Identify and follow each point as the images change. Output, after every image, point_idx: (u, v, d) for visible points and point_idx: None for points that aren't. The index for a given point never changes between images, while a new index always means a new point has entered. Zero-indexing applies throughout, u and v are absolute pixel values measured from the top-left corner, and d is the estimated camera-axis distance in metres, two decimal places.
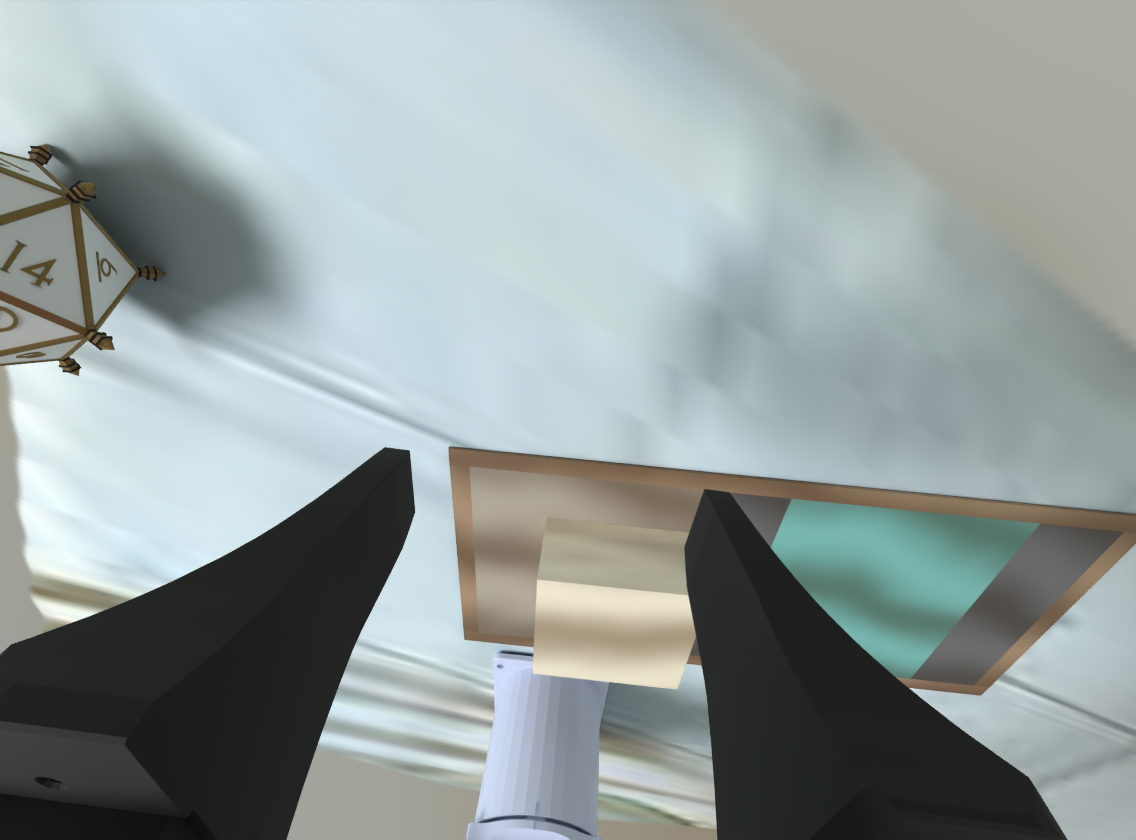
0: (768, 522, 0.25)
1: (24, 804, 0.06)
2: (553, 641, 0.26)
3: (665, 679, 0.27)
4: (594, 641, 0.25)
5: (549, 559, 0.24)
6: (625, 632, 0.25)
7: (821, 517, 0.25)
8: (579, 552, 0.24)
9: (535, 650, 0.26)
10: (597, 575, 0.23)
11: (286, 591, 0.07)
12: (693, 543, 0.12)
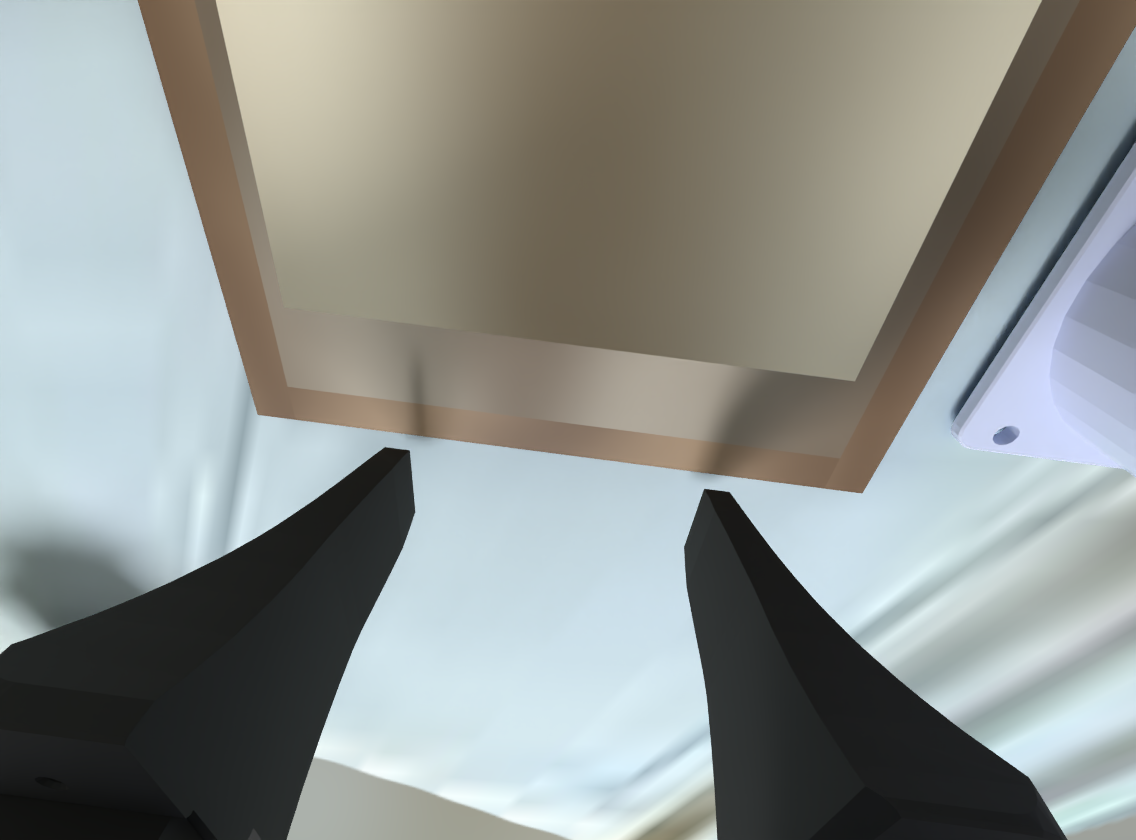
0: None
1: (24, 804, 0.06)
2: (637, 280, 0.06)
3: None
4: (634, 76, 0.05)
5: None
6: None
7: None
8: None
9: (694, 354, 0.07)
10: None
11: (286, 591, 0.07)
12: (693, 543, 0.12)
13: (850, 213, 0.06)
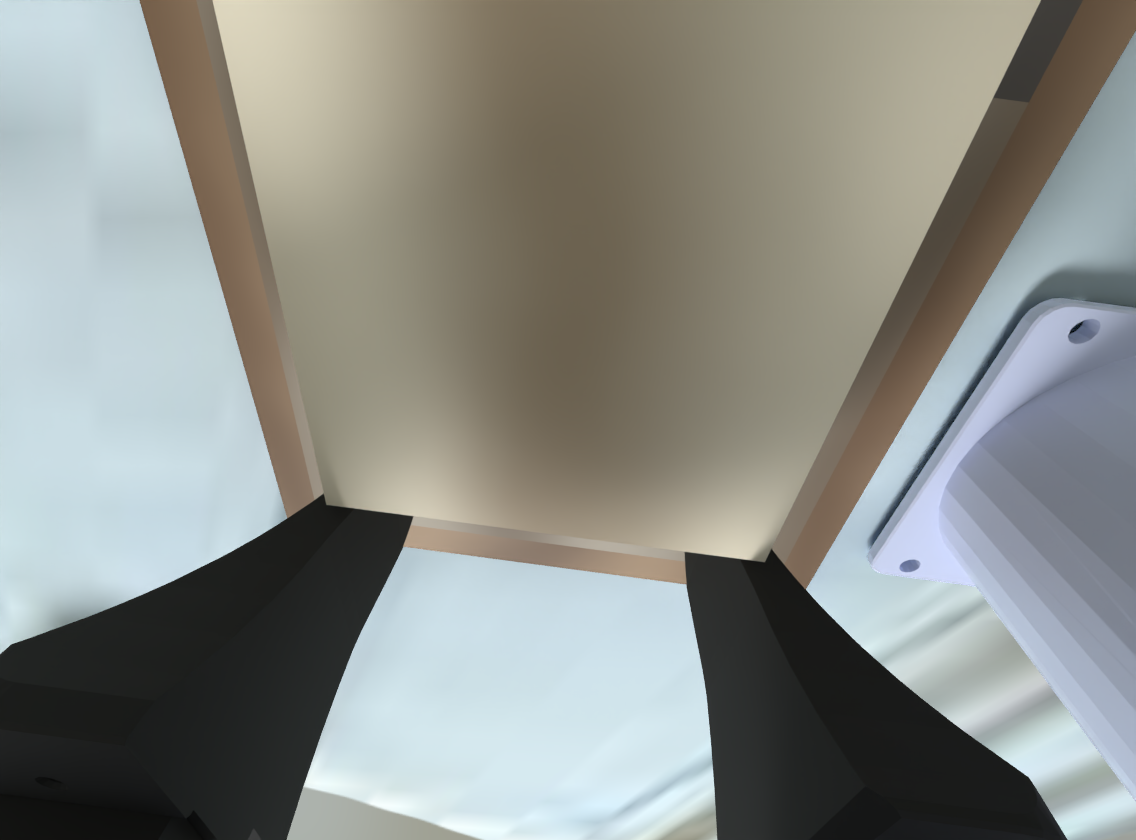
0: None
1: (24, 804, 0.06)
2: (595, 497, 0.08)
3: (916, 69, 0.05)
4: (586, 387, 0.07)
5: None
6: (521, 282, 0.06)
7: None
8: None
9: (641, 542, 0.09)
10: None
11: (286, 591, 0.07)
12: None
13: (748, 465, 0.08)
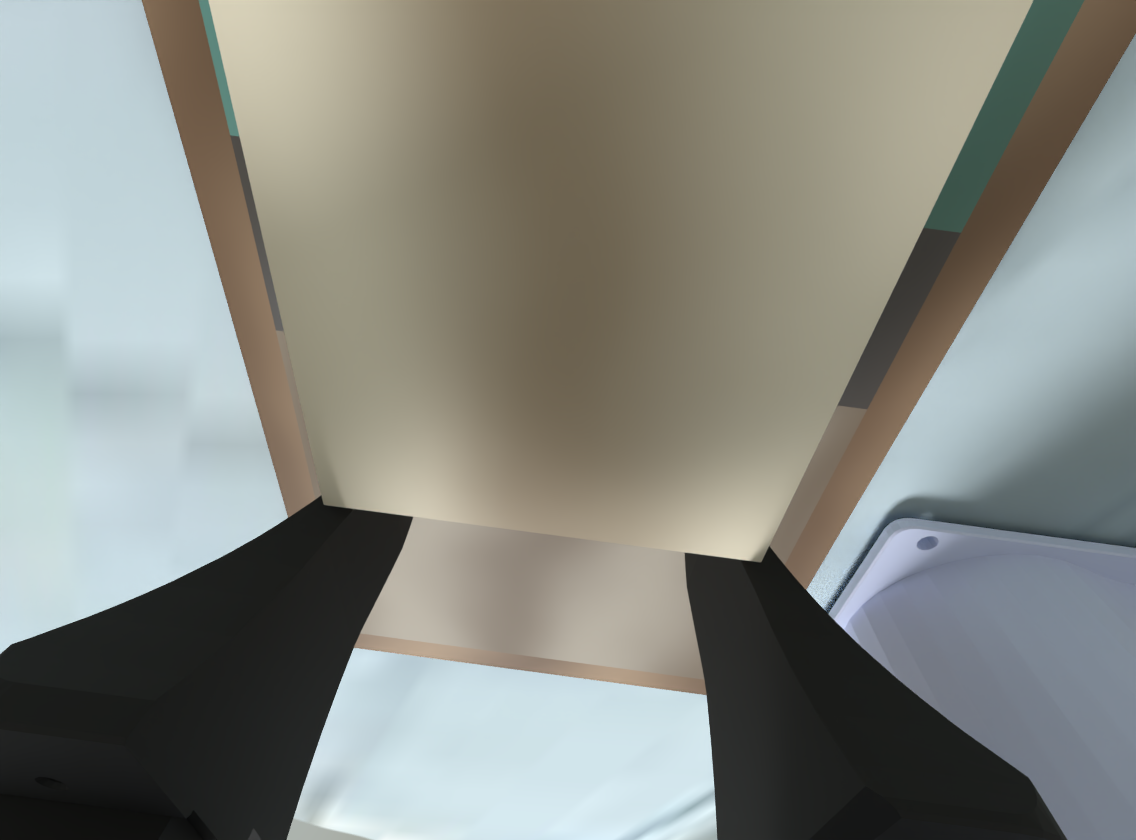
0: None
1: (24, 804, 0.06)
2: (592, 497, 0.08)
3: (908, 71, 0.05)
4: (582, 387, 0.07)
5: None
6: (516, 283, 0.06)
7: None
8: None
9: (638, 542, 0.09)
10: None
11: (286, 591, 0.07)
12: None
13: (744, 466, 0.08)
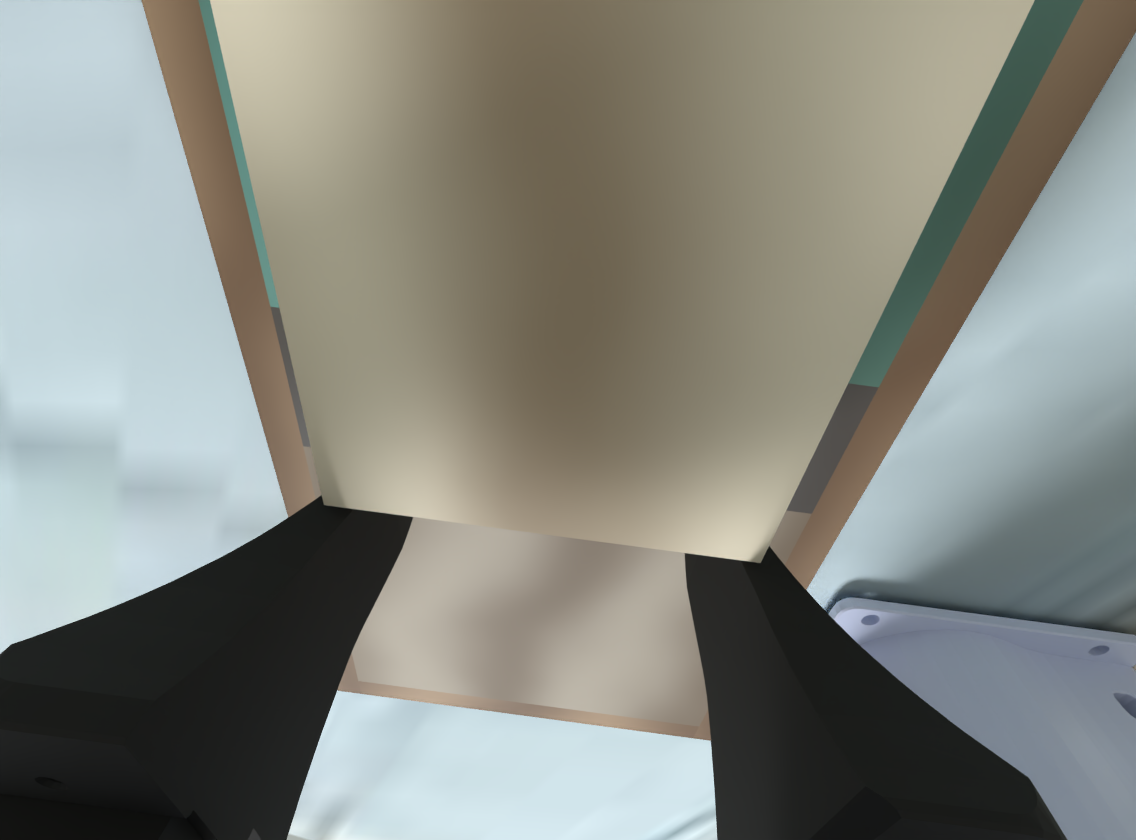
0: None
1: (24, 804, 0.06)
2: (591, 498, 0.08)
3: (908, 74, 0.05)
4: (582, 388, 0.07)
5: None
6: (517, 284, 0.06)
7: None
8: None
9: (637, 543, 0.09)
10: None
11: (286, 591, 0.07)
12: None
13: (743, 467, 0.08)
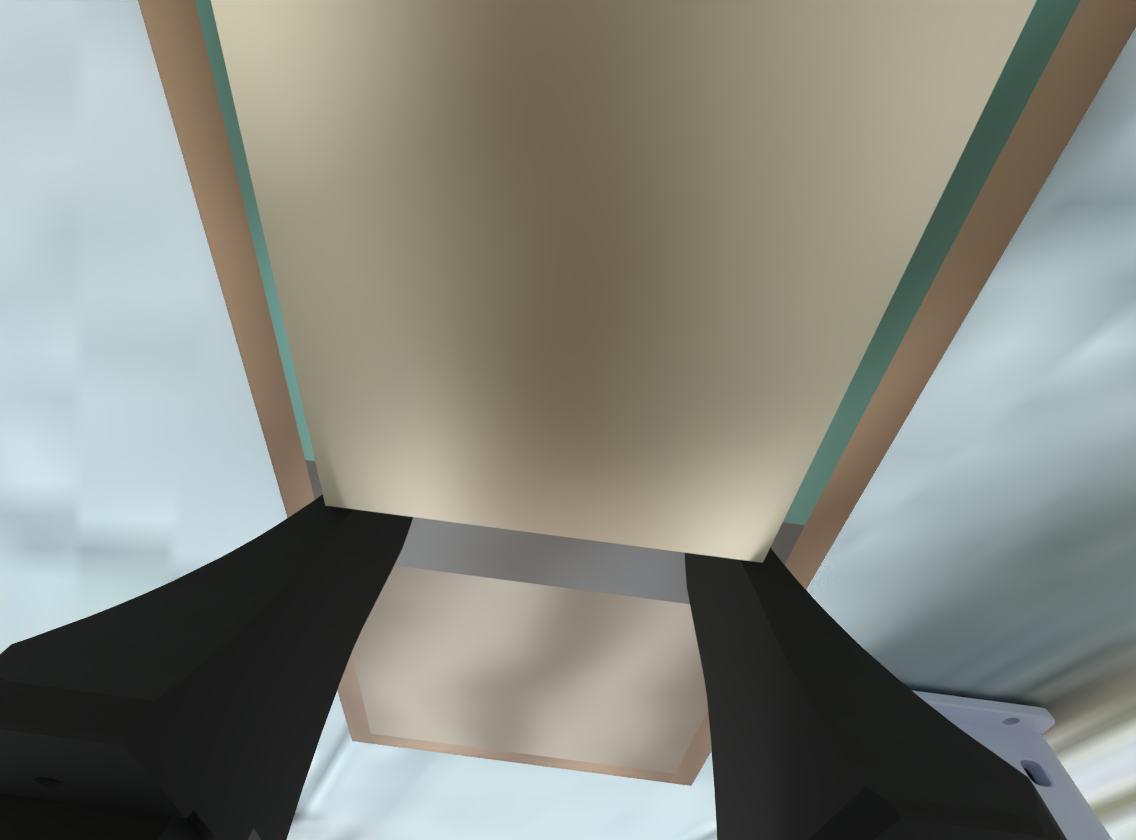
0: None
1: (24, 804, 0.06)
2: (593, 498, 0.08)
3: (911, 72, 0.05)
4: (584, 388, 0.07)
5: None
6: (518, 284, 0.06)
7: None
8: None
9: (639, 542, 0.09)
10: None
11: (286, 591, 0.07)
12: None
13: (746, 466, 0.08)
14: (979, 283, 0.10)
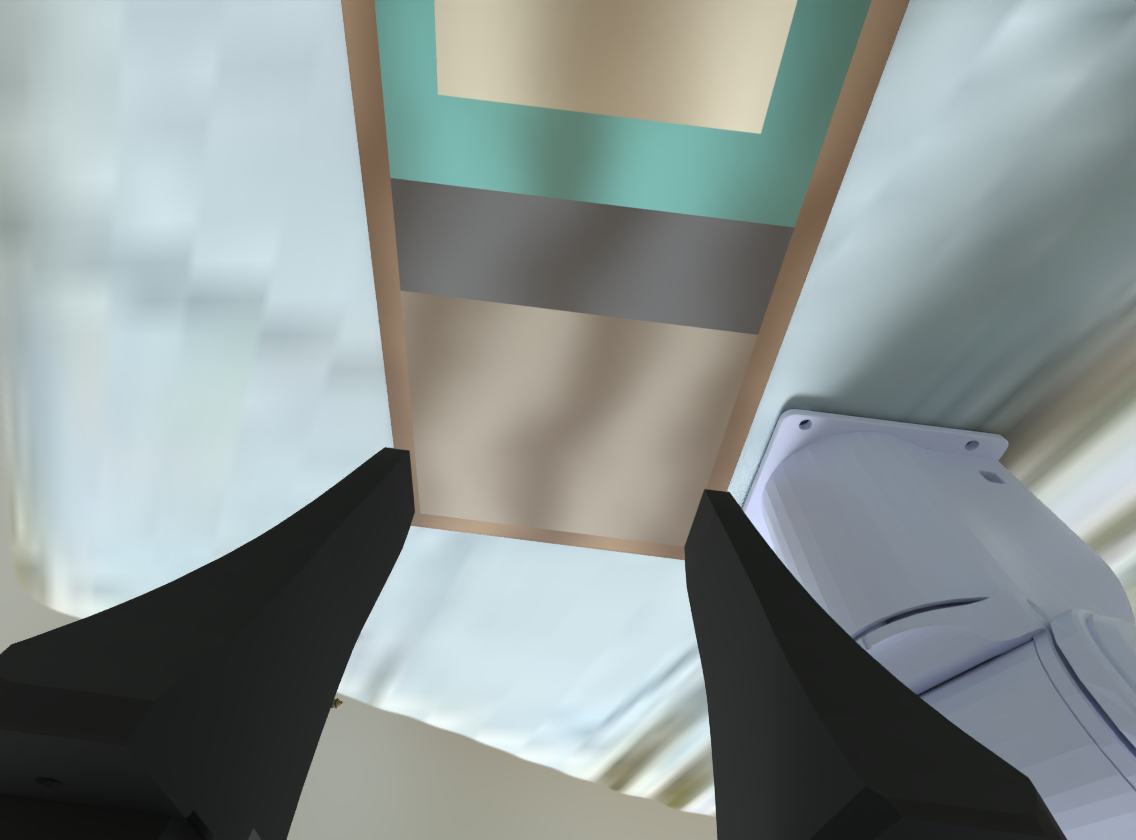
0: (440, 202, 0.17)
1: (24, 804, 0.06)
2: (637, 67, 0.12)
3: None
4: None
5: None
6: None
7: (416, 120, 0.16)
8: None
9: (669, 118, 0.12)
10: None
11: (286, 591, 0.07)
12: (693, 543, 0.12)
13: (747, 20, 0.11)
14: None
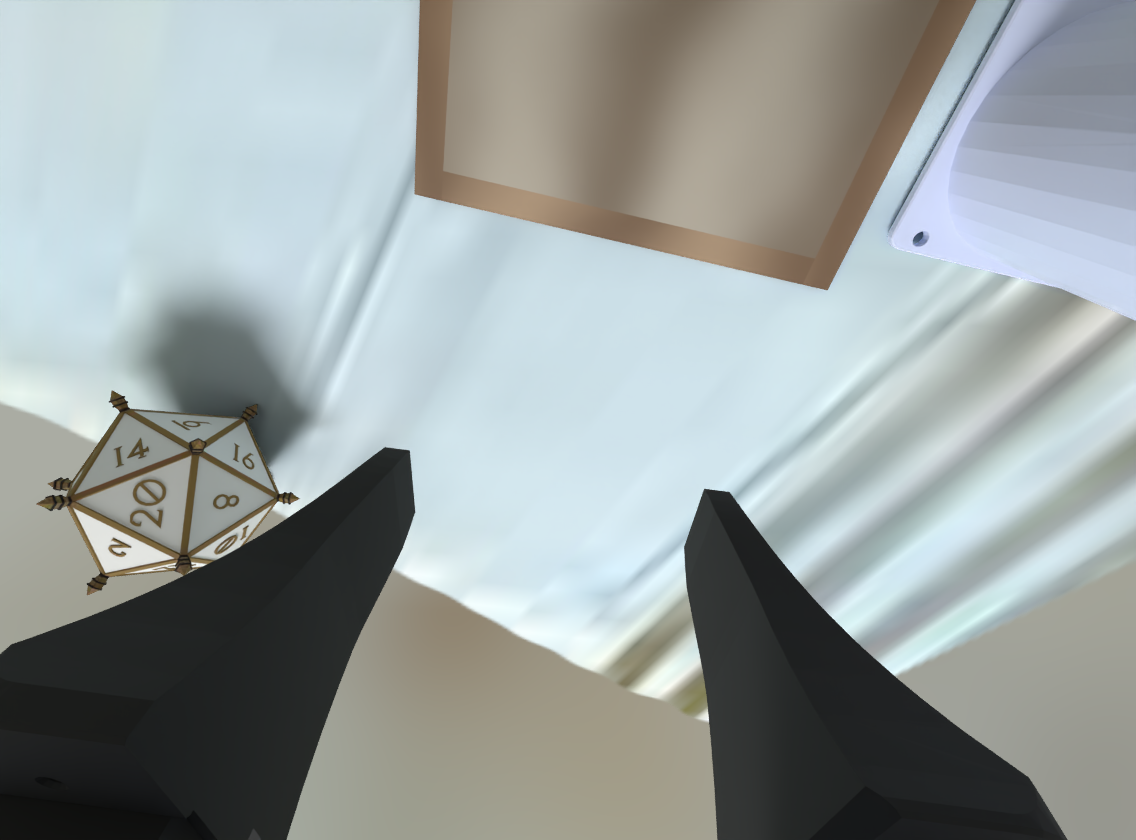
0: None
1: (24, 804, 0.06)
2: None
3: None
4: None
5: None
6: None
7: None
8: None
9: None
10: None
11: (286, 591, 0.07)
12: (693, 543, 0.12)
13: None
14: None
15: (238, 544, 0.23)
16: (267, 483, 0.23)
